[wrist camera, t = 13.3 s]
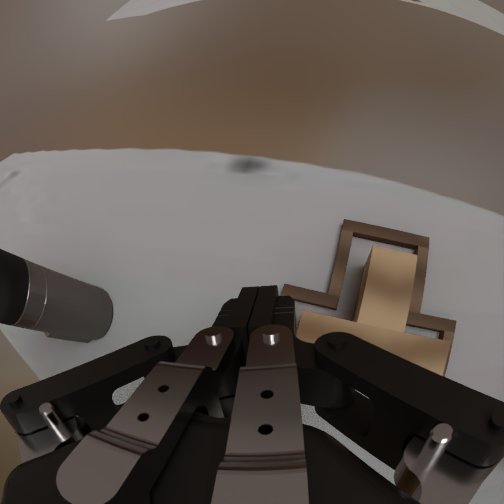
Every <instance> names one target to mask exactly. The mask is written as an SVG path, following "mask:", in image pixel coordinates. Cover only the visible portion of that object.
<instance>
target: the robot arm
mask: <svg viewBox="0 0 504 504" xmlns="http://www.w3.org/2000/svg"><path fill="white" fill-rule="evenodd" d="M112 315H113V309H112V303H111V299H110V297H109V295H108V294H107V292H106V291H105V290H103V289H101V288H99V287H96V286H93V285H90V284H87V283H85V282H82V281H79V280H77V279H74V278H71V277H69V276H66V275H63V274H61V273H58V272H55V271H53V270H50V269H48V268H45V267H43V266H40V265H38V264H35V263H33V262H30V261H28V260H25V259H23V258H21V257H18V256H16V255H13V254H11V253H9V252H6V251H4V250H2V249H0V323H2V324H6V325H12V326H16V327H21V328H26V329H31V330H36V331H41V332H44V333H45V335H46V336H47V337H49V338H56V339H62V340H69V341H76V342H84V343H88V342H89V341H90V340H97V339H100V338H101V337H103V336H104V335H105V334H106V333H107V331H108V329H109V327H110V325H111V321H112ZM143 376H144V380H143V382H142V383H141V384H140V385H139V386H138V388H137V389H136V390H135V391H134V393H133V394H132V395H131V396H130V398H129V399H128V400H127V401H126V402H125V403H123V404H121V405H115V404H114V402H113V400H112V394H113V392H114V391H115V390H116V389H117V388H119V387H122V386H124V385H126V384H128V383H130V382H133V381H135V380H137V379H139V378H141V377H143ZM355 389H356V390H357V391H359V392H361V393H362V394H364V395H365V396H367V397H368V398H369V399H368V398H366V397H365V396H363V395H362V394H360V393H358V392H357V391H355ZM300 403H301V404H306V405H311V406H315V411H316V413H317V414H318V415H319V416H320V417H322V418H323V419H324V420H325V421H327V422H328V423H329V424H331V425H332V426H333V427H335V428H336V429H337V430H339V431H340V432H341V433H343V434H344V435H345V436H347V437H348V438H349V439H351V440H352V441H353V442H355V443H356V444H358V445H359V446H360V447H362V448H363V449H365V450H366V451H367V452H369V453H370V454H372V455H373V456H375V457H376V458H377V459H379V460H380V461H382V462H383V463H385V464H386V465H388V466H389V467H391V468H392V469H394V470H395V473H394V482H395V484H396V486H395V485H394V484H392V483H391V482H390V481H388V480H387V479H386V478H384V477H383V476H382V475H380V474H379V473H378V472H376V471H375V470H374V469H372V468H371V467H370V466H369V465H367V464H366V463H365V462H363V461H362V460H361V459H360V458H358V457H357V456H356V455H355V454H353V453H352V452H351V451H350V450H348V449H347V448H346V447H345V446H344V445H342V444H341V443H340V442H339V441H338V440H336V439H335V438H334V437H332V436H331V435H329V434H327V433H326V432H324V431H322V430H320V429H318V428H315V427H312V426H309V425H305V424H302V415H301V404H300ZM0 409H1V411H2V413H3V414H4V416H5V417H6V419H7V420H8V422H9V423H10V424H11V426H12V427H13V430H14V431H15V433H16V434H17V435H18V442H19V448H20V455H21V460H22V464H20V465H19V466H17V467H16V468H15V469H14V470H13V471H12V472H11V473H10V474H9V476H8V478H7V479H6V482H5V485H4V489H3V496H2V500H1V504H468V503H469V502H470V501H471V499H472V498H473V496H474V495H475V493H476V492H477V490H478V489H479V487H480V486H481V484H482V482H483V481H484V480H485V479H486V478H487V477H488V475H489V474H490V473H491V472H492V471H493V469H494V468H495V467H496V466H497V464H498V463H499V462H500V461H501V459H502V458H503V457H504V402H502V401H500V400H497V399H495V398H492V397H490V396H488V395H485V394H483V393H481V392H478V391H476V390H473V389H471V388H469V387H466V386H464V385H462V384H459V383H457V382H455V381H453V380H450V379H448V378H446V377H443V376H441V375H439V374H437V373H434V372H432V371H430V370H428V369H426V368H423V367H421V366H419V365H417V364H414V363H412V362H410V361H408V360H406V359H404V358H401V357H399V356H397V355H395V354H393V353H391V352H388V351H386V350H384V349H382V348H380V347H378V346H376V345H374V344H371V343H369V342H367V341H365V340H363V339H361V338H359V337H357V336H355V335H353V334H350V333H346V332H330V333H327V334H324V335H322V336H320V337H319V338H318V339H317V340H316V341H315V343H309V342H305V341H302V340H300V339H298V338H297V337H296V318H295V303H294V299H293V298H292V297H291V296H290V295H288V296H279V295H278V287H277V285H274V286H260V287H259V286H258V287H243V288H242V289H241V292H240V294H239V296H238V298H235V299H230V300H229V301H227V302H226V303H224V304H223V306H222V308H221V311H220V312H219V314H218V316H217V318H216V320H215V322H214V324H213V325H212V327H209V328H206V329H203V330H201V331H199V332H198V333H197V334H196V335H195V336H194V338H193V339H192V340H191V342H190V343H189V344H188V345H186V346H179V347H173V345H172V342H171V340H170V339H169V338H168V337H166V336H151V337H147V338H145V339H142V340H140V341H138V342H135V343H133V344H131V345H128V346H126V347H124V348H121V349H119V350H116V351H114V352H112V353H109V354H107V355H104V356H102V357H99V358H97V359H95V360H92V361H90V362H87V363H85V364H82V365H80V366H77V367H75V368H72V369H70V370H67V371H65V372H62V373H60V374H57V375H54V376H52V377H49V378H47V379H44V380H41V381H39V382H36V383H34V384H31V385H28V386H25V387H23V388H20V389H17V390H15V391H12V392H10V393H9V394H7V395H6V396H5V397H4V398H3V400H2V401H1V404H0ZM77 416H78V417H77Z"/></svg>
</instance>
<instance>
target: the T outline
mask: <svg viewBox="0 0 504 504" xmlns="http://www.w3.org/2000/svg"><path fill="white" fill-rule="evenodd" d="M352 236H354V237H359V238H364V239H369V240H373V241H378V242H383V243H387V244H392V245H396V246H401V247H405V248H410V249H414V250H415V255H418V256H417V264H416V271H415V278H414V285H413V291H412V297H411V302H410V307H409V313H408V317H407V322H406V325H408V326H414V327H419V328H424V329H429V330H434V331H440V337H439V339H440V340H446V341H451V343H450V347H449V352H448V356H447V360H446V364H445V368H444V372H443V377H444V376H445V373H446V369H447V365H448V361H449V356H450V352H451V347H452V342H453V337H454V332H455V326H456V321H454V320H449V319H444V318H439V317H434V316H429V315H424V314H420V309H421V304H422V297H423V291H424V284H425V277H426V269H427V259H428V249H429V237H424V236H420V235H416V234H412V233H407V232H403V231H398V230H394V229H389V228H385V227H380V226H375V225H370V224H366V223H361V222H356V221H351V220H346V219H344V222H343V227H342V232H341V237H340V242H339V247H338V252H337V256H336V261H335V265H334V270H333V274H332V278H331V283H330V287H329V291H328V294H327V293H322V292H318V291H314V290H309V289H305V288H301V287H296V286H292V285H288V284H284V288H283V291H282V295H281V296H288V295H290V296H291V297H292V298H293V299H294V300H296V301H300V302H304V303H308V304H313V305H317V306H321V307H325V308H330V309H334V310H337V306H338V302H339V297H340V293H341V289H342V285H343V280H344V276H345V271H346V266H347V262H348V257H349V252H350V247H351V241H352Z"/></svg>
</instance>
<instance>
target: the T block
mask: <svg viewBox="0 0 504 504" xmlns="http://www.w3.org/2000/svg"><path fill="white" fill-rule="evenodd" d="M417 256H418V255H414V254H410V253H406V252H401V251H397V250H392V249H388V248H383V247H379V246H374V245H373V247H372V249H371V252H370V254H369V257H368V259H367V261H366V264H365V266H364V271H363V276H362V281H361V286H360V290H359V295H358V299H357V304H356V308H355V312H354V316H353V320H352V321H349V320H344V319H340V318H336V317H331V316H327V315H323V314H319V313H315V312H311V311H307V310H303V312H302V315H301V319H300V322H299V326H298V329H297V333H296V337H297V338H298V339H300V340H302V341H305V342H309V343H315V341H316V340H317V339H318V338H319V337H320V336H322V335H324V334H327V333H330V332H346V333H350V334H353V335H355V336H357V337H359V338H361V339H363V340H365V341H367V342H369V343H371V344H374V345H376V346H378V347H380V348H382V349H384V350H386V351H388V352H391V353H393V354H395V355H397V356H399V357H401V358H404V359H406V360H408V361H410V362H412V363H414V364H417V365H419V366H421V367H423V368H426V369H428V370H430V371H432V372H434V373H437V374H439V375H441V376H443V372H444V368H445V364H446V360H447V356H448V352H449V347H450V343H451V341H446V340H440V339H435V338H430V337H424V336H419V335H414V334H409V333H404V331H405V327H406V322H407V317H408V313H409V307H410V302H411V297H412V291H413V285H414V278H415V271H416V264H417Z"/></svg>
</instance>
